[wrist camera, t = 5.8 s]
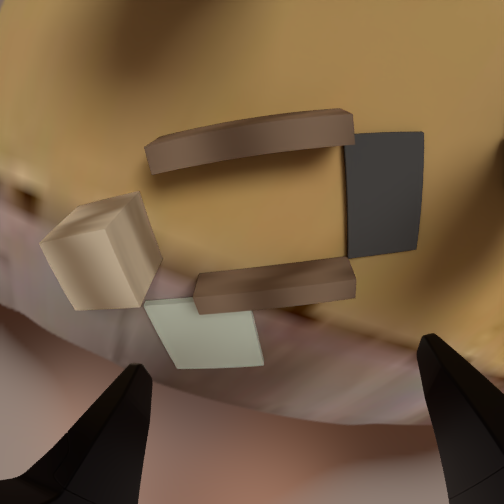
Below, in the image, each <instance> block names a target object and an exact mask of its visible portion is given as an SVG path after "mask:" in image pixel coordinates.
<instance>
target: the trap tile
mask: <svg viewBox="0 0 504 504" xmlns="http://www.w3.org/2000/svg"><path fill="white" fill-rule="evenodd" d="M354 136H355V145H344V158H345V175H346V196H347V256H348V259H350V258H357V257H365V256H372V255H380V254H387V253H395V252H402V251H409V250H416V248H417V241H418V233H419V224H420V214H421V202H422V188H423V168H424V133H423V132H380V133H360V134H354Z"/></svg>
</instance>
